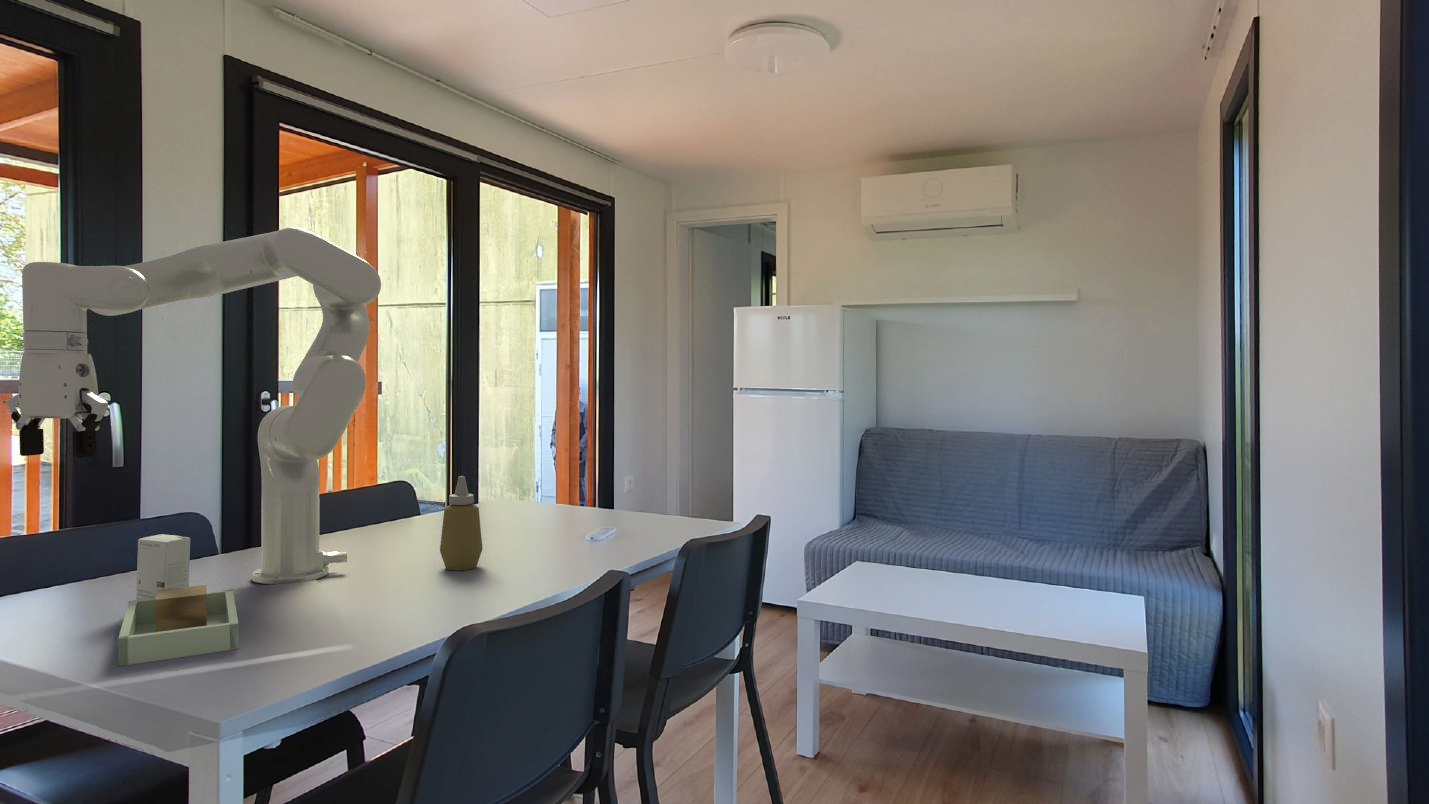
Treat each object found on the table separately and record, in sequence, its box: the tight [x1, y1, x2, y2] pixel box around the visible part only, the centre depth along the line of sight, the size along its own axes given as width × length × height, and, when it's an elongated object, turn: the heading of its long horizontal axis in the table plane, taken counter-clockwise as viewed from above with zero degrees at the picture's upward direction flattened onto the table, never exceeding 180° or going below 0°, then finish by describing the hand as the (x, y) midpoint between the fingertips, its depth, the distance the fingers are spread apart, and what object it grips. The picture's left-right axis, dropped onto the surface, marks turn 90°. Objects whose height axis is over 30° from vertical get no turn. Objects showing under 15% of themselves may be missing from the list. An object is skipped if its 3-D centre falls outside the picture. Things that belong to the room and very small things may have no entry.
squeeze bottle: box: [439, 475, 483, 571], centre depth 157 cm, size 8×8×18 cm
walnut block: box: [156, 584, 207, 632], centre depth 117 cm, size 6×6×5 cm
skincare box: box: [135, 533, 191, 600], centre depth 123 cm, size 6×4×12 cm
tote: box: [117, 589, 240, 667], centre depth 112 cm, size 13×20×4 cm, turn 33°
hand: (58, 455), depth 123 cm, fingers open, 9 cm apart
